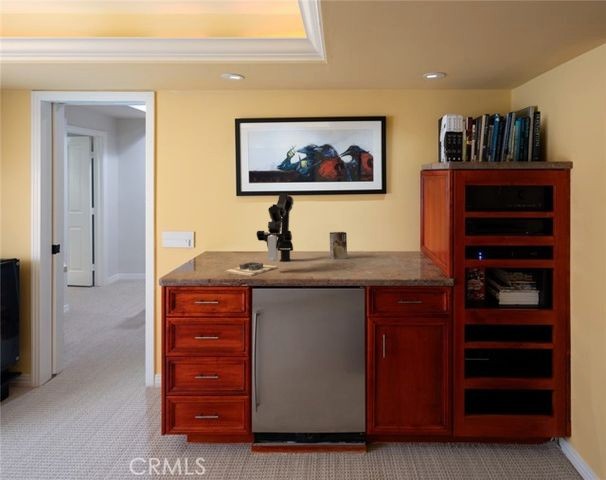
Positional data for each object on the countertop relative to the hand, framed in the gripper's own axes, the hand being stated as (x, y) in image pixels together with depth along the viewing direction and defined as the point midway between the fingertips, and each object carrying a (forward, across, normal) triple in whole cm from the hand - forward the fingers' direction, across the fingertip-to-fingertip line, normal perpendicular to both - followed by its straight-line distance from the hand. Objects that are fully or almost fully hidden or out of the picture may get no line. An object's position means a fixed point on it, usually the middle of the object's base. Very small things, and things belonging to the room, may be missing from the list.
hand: (272, 248), depth 253 cm
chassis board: (+6, -13, +12) cm, 19 cm away
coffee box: (-23, +31, +42) cm, 57 cm away
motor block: (+4, 0, +6) cm, 7 cm away
